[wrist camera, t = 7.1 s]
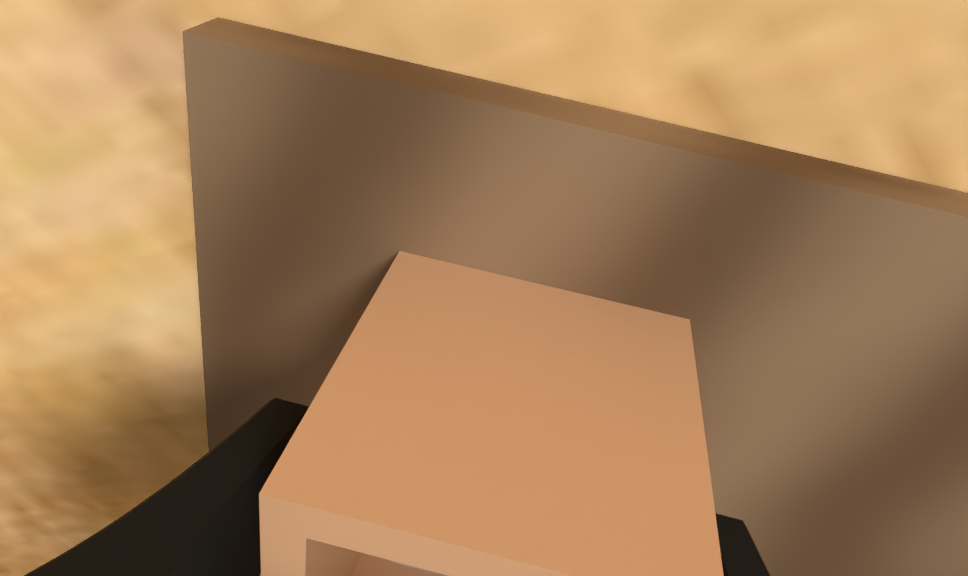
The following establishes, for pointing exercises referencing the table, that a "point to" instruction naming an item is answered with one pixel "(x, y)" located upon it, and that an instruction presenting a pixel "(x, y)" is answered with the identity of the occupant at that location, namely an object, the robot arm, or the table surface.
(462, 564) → the duct sleeve
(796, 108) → the table surface
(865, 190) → the duct board
